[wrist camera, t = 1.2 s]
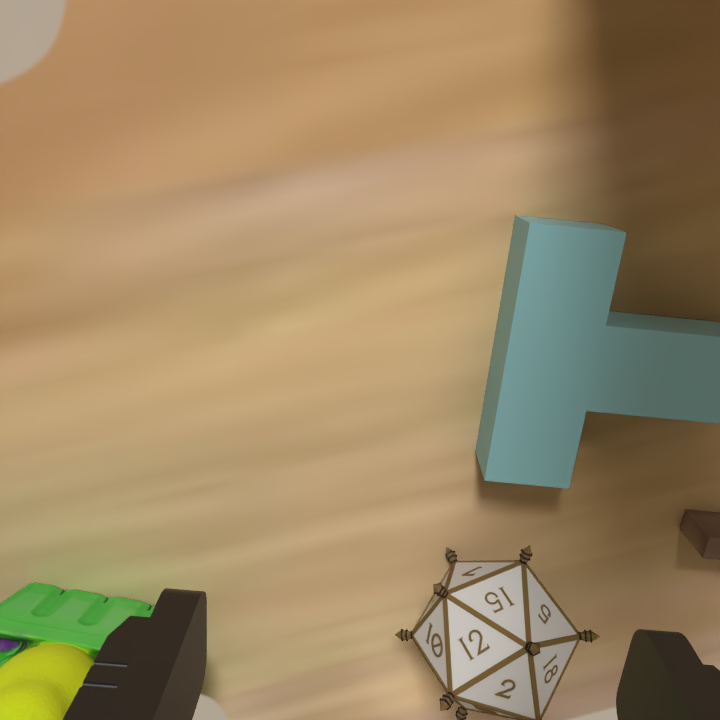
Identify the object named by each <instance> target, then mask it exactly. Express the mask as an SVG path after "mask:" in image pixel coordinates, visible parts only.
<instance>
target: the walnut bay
mask: <svg viewBox="0 0 720 720" xmlns="http://www.w3.org/2000/svg"><path fill="white" fill-rule="evenodd" d="M680 530H681V531H682V532H683V534H684V535H685V536H686V537H687V539H688V540H689V541H690V542H691V544H692V545H693V546H694V547H695V549H696V550H697V551H698V552H699V554H700V555H701V556H702V558H708V559H719V560H720V513H716V512H706V511H695V510H685V514H684V517H683V520H682V524H681V527H680Z"/></svg>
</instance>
